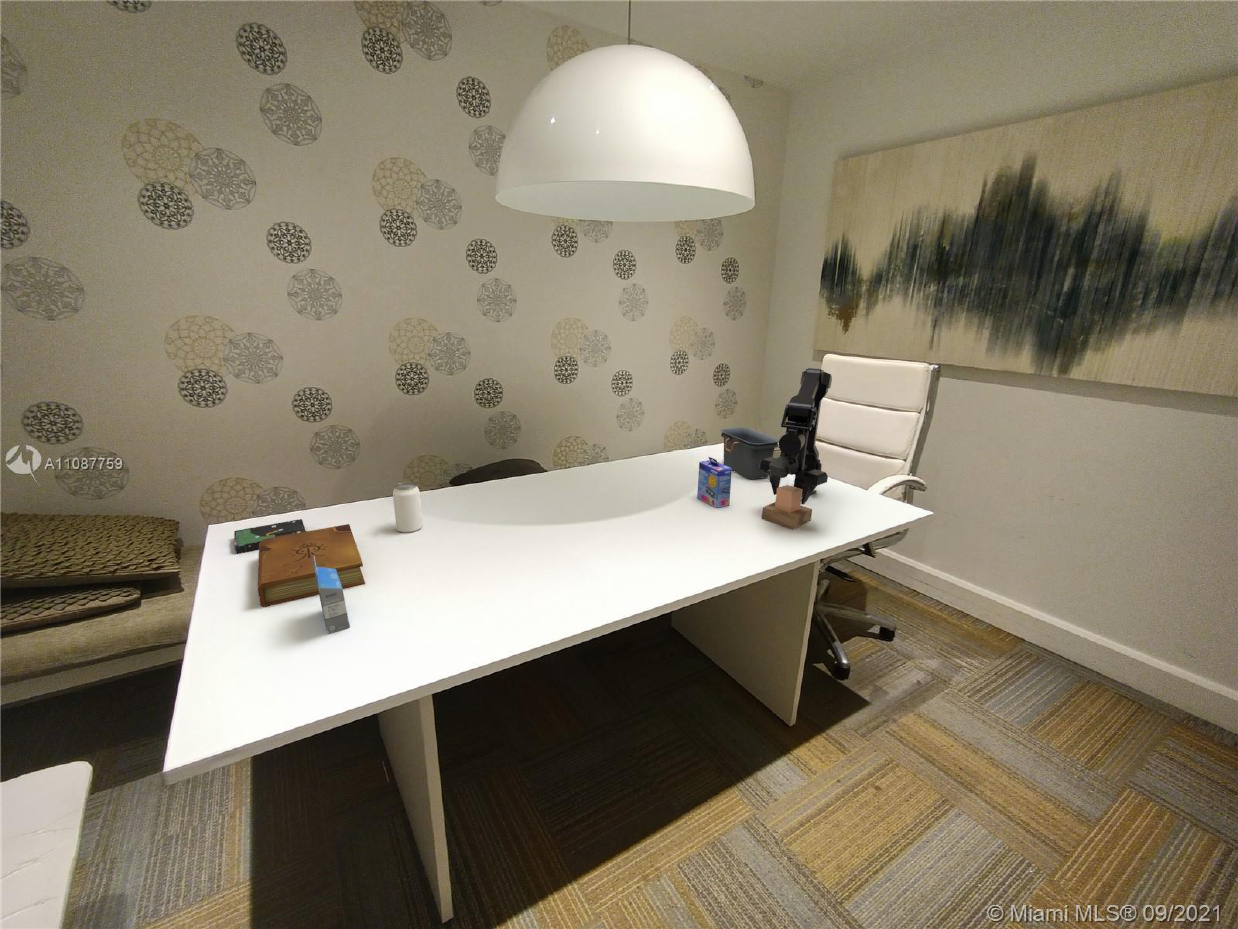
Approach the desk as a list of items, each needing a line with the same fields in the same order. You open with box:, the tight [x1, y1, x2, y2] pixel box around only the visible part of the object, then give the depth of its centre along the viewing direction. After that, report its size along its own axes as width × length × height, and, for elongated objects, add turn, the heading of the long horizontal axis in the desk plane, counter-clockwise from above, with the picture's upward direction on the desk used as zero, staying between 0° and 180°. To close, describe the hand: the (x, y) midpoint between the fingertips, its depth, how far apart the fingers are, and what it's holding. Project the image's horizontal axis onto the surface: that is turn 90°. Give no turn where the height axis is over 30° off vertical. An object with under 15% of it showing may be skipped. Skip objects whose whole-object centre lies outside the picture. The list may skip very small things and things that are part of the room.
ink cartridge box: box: [696, 456, 733, 509], centre depth 164 cm, size 10×6×14 cm, turn 30°
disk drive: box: [233, 518, 307, 555], centre depth 133 cm, size 10×3×15 cm
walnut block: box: [761, 501, 813, 531], centre depth 154 cm, size 10×10×4 cm
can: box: [392, 481, 423, 534], centre depth 140 cm, size 6×6×12 cm
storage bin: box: [720, 426, 780, 480], centre depth 194 cm, size 21×16×14 cm
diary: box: [256, 523, 366, 608], centre depth 118 cm, size 23×19×6 cm
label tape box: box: [314, 555, 351, 634], centre depth 100 cm, size 9×4×12 cm, turn 33°
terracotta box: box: [775, 484, 803, 513], centre depth 152 cm, size 5×5×6 cm
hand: (788, 499), depth 153 cm, fingers open, 9 cm apart
